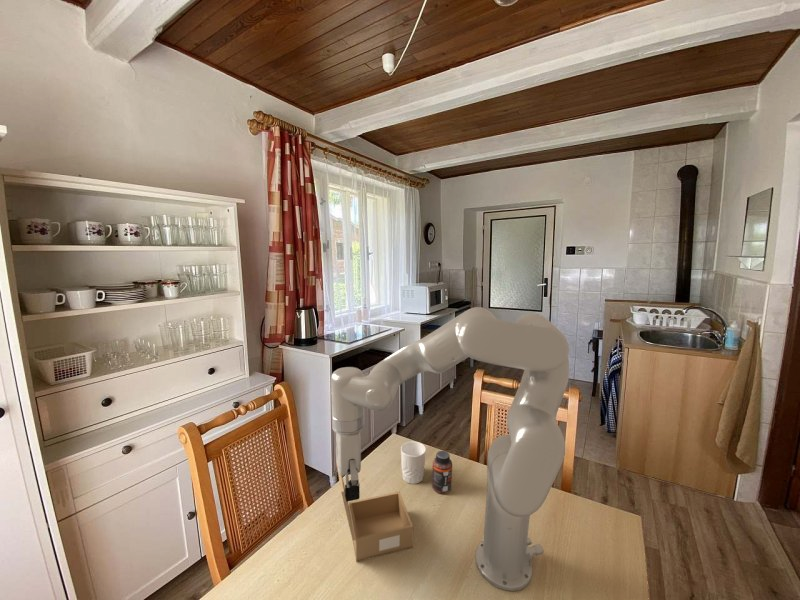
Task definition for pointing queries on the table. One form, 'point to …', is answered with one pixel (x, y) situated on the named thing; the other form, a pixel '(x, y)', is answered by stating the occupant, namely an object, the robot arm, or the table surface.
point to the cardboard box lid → (346, 504)
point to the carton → (380, 526)
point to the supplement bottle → (442, 472)
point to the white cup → (413, 461)
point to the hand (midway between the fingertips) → (349, 484)
